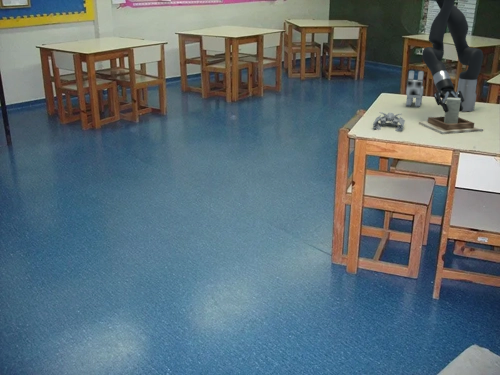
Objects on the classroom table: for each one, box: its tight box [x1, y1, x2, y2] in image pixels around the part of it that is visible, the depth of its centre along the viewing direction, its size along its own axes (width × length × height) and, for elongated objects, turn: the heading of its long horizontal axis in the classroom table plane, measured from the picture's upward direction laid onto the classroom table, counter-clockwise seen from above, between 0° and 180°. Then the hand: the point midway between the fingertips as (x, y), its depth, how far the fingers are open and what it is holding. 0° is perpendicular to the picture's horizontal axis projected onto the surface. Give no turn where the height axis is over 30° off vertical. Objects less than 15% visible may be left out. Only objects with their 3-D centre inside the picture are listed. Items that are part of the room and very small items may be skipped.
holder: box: [418, 116, 484, 135], centre depth 254 cm, size 22×20×4 cm
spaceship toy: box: [372, 111, 406, 132], centre depth 254 cm, size 14×20×6 cm
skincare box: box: [443, 98, 461, 124], centre depth 252 cm, size 6×4×12 cm
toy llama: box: [405, 70, 425, 108], centre depth 297 cm, size 8×18×20 cm, turn 157°
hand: (454, 111), depth 250 cm, fingers closed on skincare box, 7 cm apart
